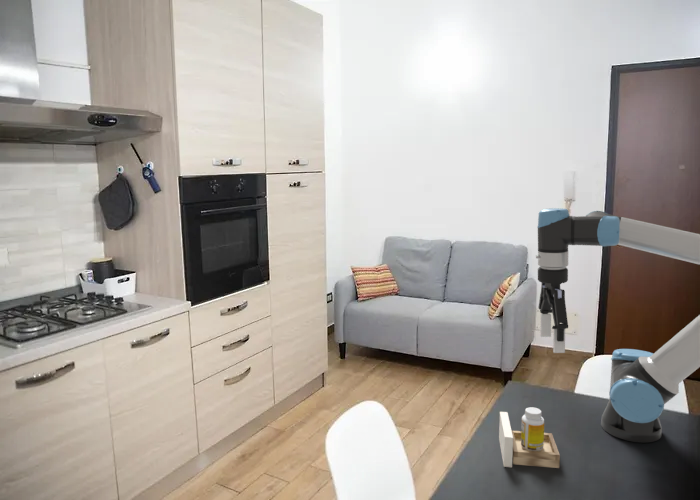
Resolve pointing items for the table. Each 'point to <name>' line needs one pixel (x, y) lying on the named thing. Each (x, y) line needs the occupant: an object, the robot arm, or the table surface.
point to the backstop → (505, 439)
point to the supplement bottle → (532, 430)
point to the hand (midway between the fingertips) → (552, 344)
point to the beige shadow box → (536, 452)
